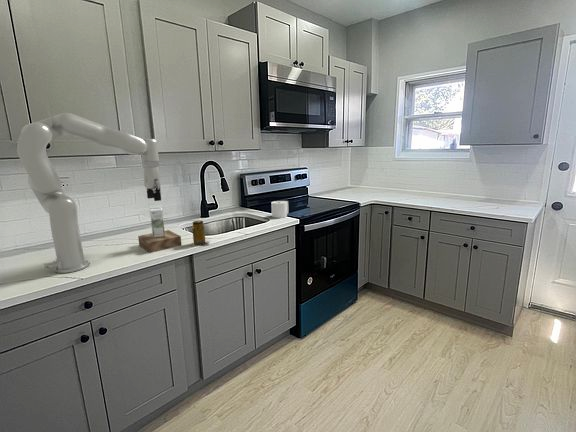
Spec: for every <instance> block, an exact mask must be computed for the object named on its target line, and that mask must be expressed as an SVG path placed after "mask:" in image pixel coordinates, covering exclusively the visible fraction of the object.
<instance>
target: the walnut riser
mask: <svg viewBox="0 0 576 432" xmlns="http://www.w3.org/2000/svg"><path fill="white" fill-rule="evenodd" d="M137 240H138V245H139V247H141V248H143V249H144V250H145V251H146V252H148V253H150V254H151V253H155V252H159V251H162V250H163V251H164V250H168V249H172V248H176V247H181V246H182V237H181V235H179V234H177V233H175V232H173V231H171V230H169V229H167V230H165V237H159V238H153V234H152V232H151V233H146V234H141V235H138V237H137Z"/></svg>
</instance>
